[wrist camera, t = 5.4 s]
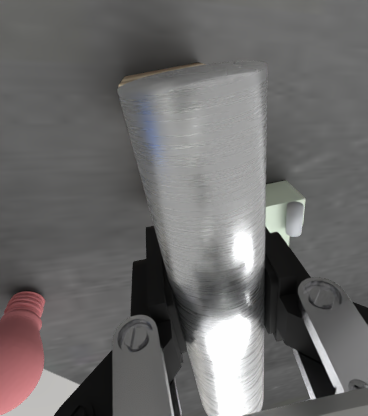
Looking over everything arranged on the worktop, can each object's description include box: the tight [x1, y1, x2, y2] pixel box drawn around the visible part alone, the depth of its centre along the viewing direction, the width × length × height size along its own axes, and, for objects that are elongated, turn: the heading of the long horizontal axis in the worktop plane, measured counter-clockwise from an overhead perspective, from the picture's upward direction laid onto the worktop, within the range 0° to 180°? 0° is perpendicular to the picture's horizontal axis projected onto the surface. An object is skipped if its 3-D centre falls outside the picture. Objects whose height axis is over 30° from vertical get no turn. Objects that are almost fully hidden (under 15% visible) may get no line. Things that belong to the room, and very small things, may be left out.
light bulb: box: [0, 291, 45, 415], centre depth 27 cm, size 7×7×12 cm
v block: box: [265, 180, 305, 246], centre depth 29 cm, size 12×6×5 cm, turn 9°
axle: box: [117, 61, 267, 416], centre depth 9 cm, size 14×3×3 cm, turn 9°
